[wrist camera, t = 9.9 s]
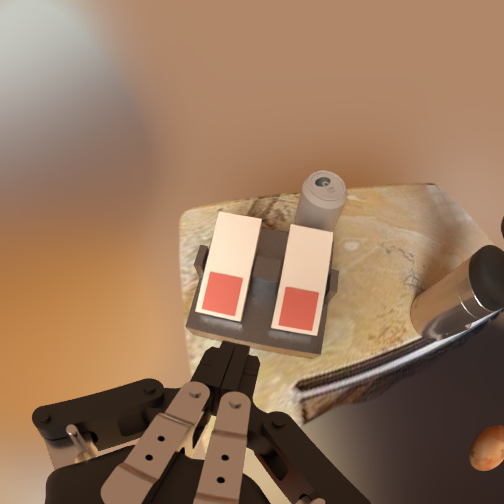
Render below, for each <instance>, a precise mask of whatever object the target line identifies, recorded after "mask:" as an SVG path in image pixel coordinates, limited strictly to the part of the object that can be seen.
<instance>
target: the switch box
mask: <svg viewBox="0 0 504 504" xmlns="http://www.w3.org/2000/svg"><path fill="white" fill-rule="evenodd" d="M213 235H214V234H213ZM288 235H289V233H287V232H282V231H277V230H271V229H266V228H261V231H260V236H259V241H258V245H257V250H256V255H255V260H254V265H253V269H252V274H251V279H250V284H249V288H248V293H247V298H246V303H245V307H244V312H243V317H242V322H240V321H235V320H230V319H226V318H221V317H217V316H213V315H208V314H204V313H200V312H196V311H195V310H196V306H197V301H198V297H199V293H200V288H201V284H202V280H203V275H204V271H205V267H206V263H207V259H208V255H209V251H210V247H211V243H212V240H211V243H210V247H209V250H208V247H207V246H203V245H200V248H199V251H198V254H197V257H196V260H195V263H194V266H195V268H196V271H197V273H198V275H199V277H200V279H199V282H198V286H197V289H196V292H195V296H194V299H193V303H192V306H191V309H190V313H189V316H188V320H187V324H186V328H187V329H188V330H189V331H190V332H191V333H192V334H194V335H197V336H201V337H205V338H209V339H213V340H217V341H221V342H222V341H223V340H225V341H230V342H234V343H236V345H237V343H239V344H244V345H248V346H250V348H253V349H258V350H263V351H269V352H274V353H279V354H285V355H291V356H297V357H304V358H310V359H312V358H314V357H316V356H319V355H321V349H322V343H323V336H324V329H325V321H326V314H327V305H328V302H329V301H330V300H331V299H332V297H333V296H334V295H335V294H336V293H337V285H338V273H339V271H335V270H331V267H332V255H333V241H332V248H331V256H330V263H329V270H328V276H327V283H326V289H325V295H324V301H323V306H322V312H321V317H320V323H319V328H318V333H317V336H315V335H308V334H302V333H296V332H291V331H285V330H280V329H274V328H271V324H272V319H273V314H274V309H275V304H276V299H277V294H278V289H279V284H280V279H281V273H282V268H283V263H284V257H285V252H286V246H287V241H288ZM212 239H213V237H212Z"/></svg>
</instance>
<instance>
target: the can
mask: <svg viewBox="0 0 504 504" xmlns="http://www.w3.org/2000/svg"><path fill="white" fill-rule="evenodd" d="M346 200H347V191H346V186H345V183H344V181H343V180H342V179H341V178H340V177H339V176H338V175H336V174H335V173H333V172H330V171H323V170H320V171H316V172H314V173H312V174H311V175H310V176H309V177H308V178H306V180H305V181H304V183H303V187H302V191H301V195H300V200H299V204H298V208H297V213H296V217H295V225H298V226H303V227H308V228H313V229H318V230H323V231H328V232H332V230H333V228H334V226H335V224H336V222H337V220H338V217H339V215H340V213H341V211H342V209H343V206H344V204H345V202H346Z"/></svg>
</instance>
